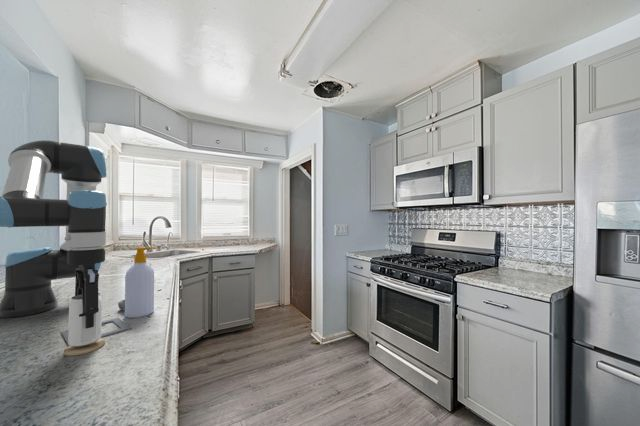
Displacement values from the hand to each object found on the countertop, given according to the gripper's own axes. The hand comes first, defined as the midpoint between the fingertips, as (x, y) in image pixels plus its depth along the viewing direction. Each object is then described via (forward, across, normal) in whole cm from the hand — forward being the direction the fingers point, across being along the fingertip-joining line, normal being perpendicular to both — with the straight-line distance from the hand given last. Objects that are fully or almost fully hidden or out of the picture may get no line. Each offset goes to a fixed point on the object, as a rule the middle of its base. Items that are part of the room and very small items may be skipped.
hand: (85, 335), depth 68 cm
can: (+2, 0, 0) cm, 2 cm away
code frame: (+3, -11, +4) cm, 13 cm away
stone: (+4, -26, +19) cm, 33 cm away
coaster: (+3, 0, 0) cm, 3 cm away
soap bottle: (+3, -18, +18) cm, 26 cm away
